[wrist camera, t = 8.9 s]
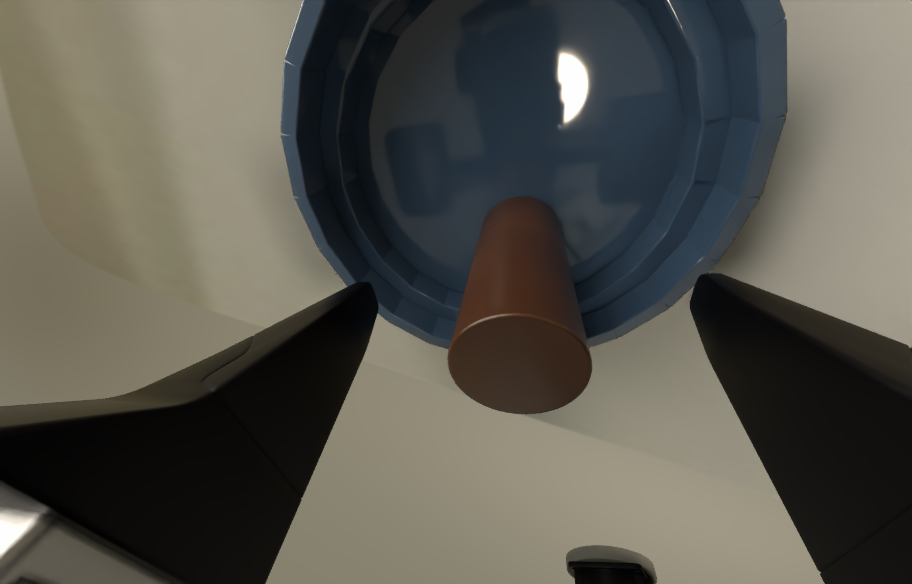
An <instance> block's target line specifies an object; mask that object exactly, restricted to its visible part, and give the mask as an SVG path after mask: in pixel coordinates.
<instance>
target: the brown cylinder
mask: <svg viewBox="0 0 912 584" xmlns="http://www.w3.org/2000/svg"><path fill="white" fill-rule="evenodd" d="M448 367H449V371H450V373H451V376H452V378H453V380H454V381H455V383H456V384H457V386H458V387H459V388H460V389H461V390H462V391H463V392H464V393H465V394H466V395H467V396H469V397H470V398H471V399H473V400H475V401H476V402H478V403H480V404H482V405H484V406H487V407H489V408H492V409H495V410H498V411H503V412H507V413H515V414H536V413H543V412H548V411H552V410H555V409H558V408H560V407H563V406H565V405H566V404H568V403H570V402H572V401H573V400H574V399H576V398H577V397H578V396H579V395H580V394H581V393H582V392H583V391H584V389H585V388H586V386H587V384H588V382H589V380H590V377H591V374H592V359H591V355H590V351H589V346H588V342H587V338H586V334H585V329H584V325H583V321H582V317H581V312H580V308H579V304H578V300H577V295H576V291H575V287H574V283H573V278H572V274H571V270H570V266H569V262H568V257H567V253H566V249H565V245H564V240H563V236H562V232H561V228H560V224H559V220H558V218H557V216H556V214H555V213H554V211H553V210H552V209H551V208H550V207H549V206H548V205H547V204H545V203H544V202H542V201H540V200H538V199H535V198H532V197H523V196H520V197H513V198H509V199H506V200H504V201H502V202H500V203H498V204H497V205H496V206H494V207H493V208H492V209H491V210H490V211H489V213H488V214H487V216H486V217H485V219H484V221H483V224H482V228H481V232H480V235H479V239H478V243H477V246H476V250H475V254H474V258H473V261H472V265H471V269H470V272H469V276H468V280H467V284H466V287H465V291H464V295H463V298H462V302H461V306H460V310H459V313H458V317H457V321H456V325H455V328H454V332H453V336H452V339H451V343H450V347H449V351H448Z"/></svg>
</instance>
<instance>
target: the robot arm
mask: <svg viewBox="0 0 912 584" xmlns="http://www.w3.org/2000/svg"><path fill="white" fill-rule="evenodd" d="M378 309H379V305H378V301H377V298H376V294H375V291H374V288H373V286H372V284H371V283H370V282H356V283H354V284H352V285H350V286H348V287H346V288H344V289H343V290H341V291H339V292H337V293H335V294H333V295H331V296H329V297H327V298H325V299H323V300H321V301H319V302H317V303H315V304H313V305H311V306H309V307H307V308H306V309H304V310H302V311H300V312H298V313H296V314H294V315H292V316H290V317H288V318H286V319H284V320H282V321H280V322H278V323H276V324H274V325H272V326H270V327H269V328H267V329H265V330H263V331H261V332H259V333H257V334H255V335H254V336H251V337H249V338H247V339H245V340H243V341H241V342H239V343H237V344H235V345H233V346H231V347H229V348H227V349H225V350H223V351H221V352H219V353H217V354H215V355H213V356H211V357H208V358H206V359H204V360H202V361H200V362H198V363H196V364H194V365H192V366H189V367H187V368H185V369H183V370H181V371H178V372H176V373H174V374H172V375H170V376H167V377H165V378H163V379H161V380H159V381H157V382H154V383H152V384H150V385H148V386H146V387H143V388H141V389H138V390H136V391H134V392H131V393H127V394H124V395H120V396H116V397H111V398H105V399H96V400H83V401H71V402H56V403H42V404H29V405H16V406H1V407H0V584H265V583H266V581H267V578H268V576H269V574H270V571H271V569H272V567H273V564H274V562H275V560H276V558H277V555H278V553H279V550H280V548H281V546H282V544H283V541H284V539H285V537H286V534H287V532H288V530H289V528H290V525H291V523H292V520H293V518H294V516H295V514H296V511H297V509H298V507H299V505H300V502H301V498H302V497H303V495H304V492H305V490H306V488H307V485H308V483H309V481H310V479H311V476H312V474H313V471H314V470H315V467H316V465H317V463H318V460H319V458H320V456H321V453H322V451H323V449H324V446H325V444H326V442H327V440H328V437H329V435H330V432H331V430H332V428H333V426H334V423H335V421H336V419H337V417H338V414H339V412H340V409H341V407H342V405H343V403H344V400H345V398H346V395H347V393H348V391H349V389H350V387H351V384H352V382H353V380H354V377H355V375H356V373H357V370H358V368H359V366H360V363H361V361H362V359H363V357H364V354H365V352H366V349H367V346H368V343H369V340H370V336H371V333H372V330H373V327H374V323H375V320H376V317H377V313H378ZM690 310H691V313H692V316H693V319H694V321H695V324H696V327H697V330H698V332H699V335H700V338H701V341H702V343H703V346H704V349H705V352H706V354H707V357H708V359H709V361H710V363H711V365H712V367H713V369H714V371H715V373H716V375H717V377H718V379H719V381H720V383H721V385H722V386H723V388H724V390H725V392H726V394H727V396H728V398H729V400H730V402H731V404H732V406H733V408H734V410H735V411H736V413H737V415H738V417H739V419H740V421H741V423H742V425H743V427H744V429H745V431H746V433H747V435H748V436H749V438H750V440H751V442H752V444H753V446H754V448H755V450H756V452H757V454H758V456H759V458H760V459H761V461H762V463H763V465H764V467H765V469H766V471H767V473H768V475H769V477H770V479H771V481H772V483H773V484H774V486H775V488H776V490H777V492H778V494H779V496H780V498H781V500H782V502H783V504H784V506H785V507H786V509H787V511H788V513H789V515H790V517H791V519H792V521H793V523H794V525H795V527H796V528H797V531H798V532H799V534H800V536H801V538H802V540H803V542H804V544H805V546H806V548H807V550H808V552H809V554H810V555H811V557H812V559H813V561H814V563H815V565H816V567H817V569H818V570H819V571H820V572H821V573H820V575H821V577H822V579H823V581H824V583H825V584H912V348H909V346H908V345H906V344H903V343H900V342H898V341H895V340H893V339H890V338H887V337H885V336H882V335H880V334H877V333H874V332H872V331H869V330H867V329H864V328H861V327H859V326H856V325H853V324H851V323H848V322H846V321H843V320H840V319H838V318H835V317H833V316H830V315H827V314H825V313H822V312H820V311H817V310H814V309H812V308H809V307H807V306H804V305H801V304H799V303H796V302H794V301H791V300H788V299H786V298H783V297H781V296H778V295H775V294H773V293H770V292H767V291H765V290H762V289H760V288H757V287H754V286H752V285H749V284H747V283H744V282H741V281H739V280H736V279H734V278H731V277H728V276H726V275H723V274H719V273H711V274H701V275H700V276H699V277H698V278H697V281H696V284H695V287H694V290H693V293H692V296H691V299H690ZM568 566H569V569H570V571H571V572H572V573H573V574H574V576H575V584H654V583H653V581H652V580H651V579H650V578H647V576H646V574H645V572H644V570H643V568H642V566H641V565H640V564H637V563H615V562H581V561H570V562H568Z"/></svg>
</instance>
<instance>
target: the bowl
mask: <svg viewBox="0 0 912 584" xmlns="http://www.w3.org/2000/svg"><path fill="white" fill-rule="evenodd" d="M784 18H785V13H784V10H783V8H782V5H781V3H780V0H303V1H302V4H301V7H300V10H299V13H298V17H297V20H296V23H295V26H294V29H293V32H292V35H291V38H290V41H289V44H288V48H287V51H286V54H285V60H284V67H283V91H282V114H281V133H282V134H281V138H282V143H283V147H284V152H285V157H286V162H287V167H288V171H289V176H290V181H291V186H292V191H293V195H294V197H295V200H296V202H297V204H298V207H299V209H300V211H301V213H302V215H303V217H304V219H305V222H306V224H307V226H308V228H309V230H310V232H311V234H312V236H313V239H314V241H315V243H316V245H317V247H318V248H319V250H320V252H321V253H322V254H323V256H324V257H325V258H326V259H327V261H328V262H329V263H330V265H331V266H332V267H333V269H334V270H335V271H336V272H337V274H338V275H339V276H340V278H341V279H342V280H343V281H344V283H345V284H346V285H347V287H348V286H350V285H352V284H354V283H356V282H370V283H371V284H372V286H373V288H374V291H375V294H376V298H377V301H378V305H379V309H378V314H379V315H380V316H382V317H383V318H384V319H385V320H388V322H390V323H392V324H393V325H395V326H397V327H399V328H401V329H403V330H405V331H406V332H408V333H410V334H412V335H414V336H416V337H418V338H420V339H421V340H423V341H425V342H427V343H428V342H429V344H433V345H436V346H439V347H443V348H446V349H449V347H450V343H451V339H452V336H453V332H454V328H455V325H456V321H457V317H458V313H459V310H460V306H461V302H462V298H463V295H464V291H465V287H466V284H467V280H468V276H469V272H470V269H471V265H472V261H473V258H474V254H475V250H476V246H477V243H478V239H479V235H480V232H481V228H482V224H483V221H484V219H485V217H486V216H487V214H488V213H489V211H490V210H491V209H492V208H493V207H494V206H496V205H497V204H498V203H500V202H502V201H504V200H506V199H509V198H513V197H520V196H523V197H532V198H535V199H538V200H540V201H542V202H544V203H545V204H547V205H548V206H549V207H550V208H551V209H552V210H553V211H554V213H555V214H556V216H557V218H558V220H559V224H560V228H561V232H562V236H563V240H564V245H565V249H566V253H567V257H568V262H569V266H570V270H571V274H572V278H573V283H574V287H575V291H576V295H577V300H578V304H579V308H580V312H581V317H582V321H583V325H584V329H585V334H586V338H587V342H588V346H589V348H590V347H593V346H596V345H599V344H602V343H605V342H608V341H611V340H614V339H617V338H619V337H621V336H623V335H625V334H627V333H628V332H630V331H632V330H633V329H635V328H637V327H638V326H640V325H642V324H644V323H645V322H647V321H649V320H650V319H652V318H654V317H655V316H657V315H659V314H661V313H662V312H664V311H666V310H667V309H669V308H670V307H672V306H673V305H674V304H675V303H676V302H677V301H678V300H679V299H680V298H681V297H682V296H683V295H684V294H686V293H687V292H688V291H689V290H690V289H691V288H692V287H693V286H694V285H695V284H696V281H697V278H698V277H699V276H700V275H701V274H707V273H708V272H709V271H710V270H711V269H712V268H713V267H714V266H715V265H716V264H717V263H718V261H720V260H721V258H722V257H723V255H724V254H725V252H726V251H727V249H728V248H729V246H730V245H731V243H732V241H733V240H734V238H735V237H736V235H737V234H738V232H739V231H740V229H741V228H742V226H743V224H744V223H745V221H746V220H747V218H748V217H749V215H750V214H751V212H752V211H753V209H754V207H755V206H756V204H757V203H758V201H759V200H760V198H759V197H761V195H762V193H763V189H764V186H765V183H766V180H767V177H768V174H769V170H770V167H771V164H772V161H773V158H774V154H775V151H776V148H777V145H778V142H779V139H780V135H781V132H782V129H783V126H784V123H785V120H786V114H787V20H786V19H784Z"/></svg>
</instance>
